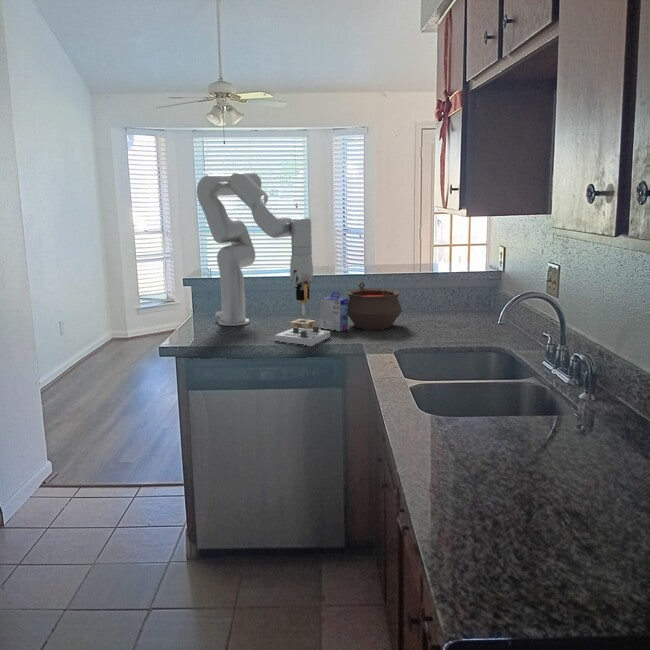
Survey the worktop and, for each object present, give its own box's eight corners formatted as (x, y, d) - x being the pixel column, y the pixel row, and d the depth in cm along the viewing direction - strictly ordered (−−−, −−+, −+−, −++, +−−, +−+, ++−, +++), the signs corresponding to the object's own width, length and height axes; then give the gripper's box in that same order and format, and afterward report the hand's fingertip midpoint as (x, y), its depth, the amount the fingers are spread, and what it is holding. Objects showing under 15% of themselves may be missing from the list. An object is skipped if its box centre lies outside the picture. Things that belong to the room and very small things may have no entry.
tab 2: (297, 338, 232) (297, 331, 232) (300, 337, 234) (300, 330, 233) (307, 340, 231) (307, 332, 230) (310, 338, 232) (310, 331, 232)
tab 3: (309, 333, 240) (309, 326, 240) (312, 332, 242) (312, 325, 241) (319, 334, 238) (319, 327, 238) (321, 333, 240) (321, 326, 239)
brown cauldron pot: (414, 329, 254) (415, 287, 250) (357, 335, 245) (357, 291, 242) (386, 318, 276) (386, 279, 272) (333, 322, 267) (333, 283, 263)
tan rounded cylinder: (298, 315, 249) (297, 284, 247) (302, 314, 252) (301, 283, 250) (305, 316, 248) (304, 284, 245) (309, 314, 250) (308, 283, 248)
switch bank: (275, 341, 235) (274, 334, 235) (295, 333, 247) (294, 327, 247) (311, 346, 228) (311, 338, 228) (330, 338, 240) (330, 330, 240)
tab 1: (289, 334, 239) (289, 327, 238) (292, 333, 241) (292, 326, 240) (299, 335, 237) (299, 328, 237) (302, 334, 239) (302, 327, 238)
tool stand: (290, 332, 250) (290, 322, 249) (299, 328, 256) (299, 318, 255) (306, 334, 247) (306, 323, 246) (315, 330, 253) (315, 320, 252)
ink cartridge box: (348, 329, 254) (348, 292, 251) (340, 332, 250) (340, 294, 247) (328, 326, 260) (328, 290, 257) (320, 328, 256) (319, 292, 253)
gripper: (303, 248, 254) (305, 295, 258) (281, 252, 240) (283, 302, 243) (321, 249, 250) (321, 296, 254) (299, 253, 236) (300, 303, 240)
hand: (302, 299), depth 249 cm, fingers closed on tan rounded cylinder, 3 cm apart
